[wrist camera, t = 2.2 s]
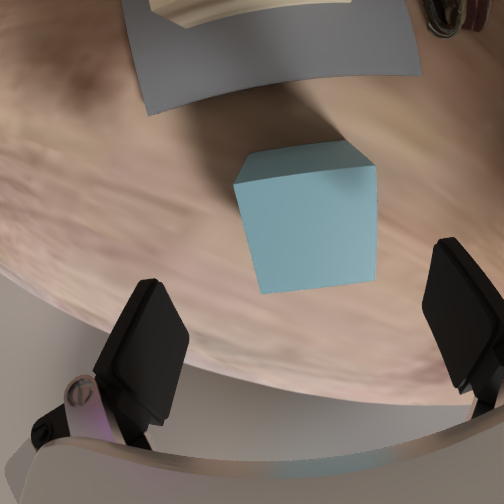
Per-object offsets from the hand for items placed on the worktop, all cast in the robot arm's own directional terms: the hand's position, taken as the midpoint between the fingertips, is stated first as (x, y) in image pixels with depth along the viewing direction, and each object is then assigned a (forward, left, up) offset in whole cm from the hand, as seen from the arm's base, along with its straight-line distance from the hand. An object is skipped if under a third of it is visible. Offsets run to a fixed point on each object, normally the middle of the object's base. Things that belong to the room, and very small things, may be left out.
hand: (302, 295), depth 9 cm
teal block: (0, -1, -10) cm, 10 cm away
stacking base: (+16, -1, -10) cm, 19 cm away
